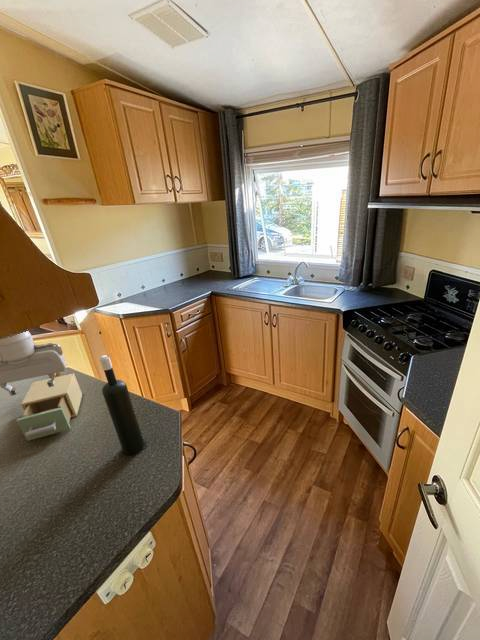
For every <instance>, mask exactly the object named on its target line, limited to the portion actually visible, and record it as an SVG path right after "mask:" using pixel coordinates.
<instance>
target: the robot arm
mask: <svg viewBox="0 0 480 640" xmlns="http://www.w3.org/2000/svg"><path fill="white" fill-rule="evenodd" d="M63 353H64V352H63V349H62V346H61V345H60V344H58V343H54V342H49V343H43V344H35V342H34V339H33V336H32V334H31V332H30V331H29V330H28V331H26V332H23V333H20V334H17V335H15V336H12V337H8V338H5V339H3V340H0V388H1V389H4V390H5V391H7V392H8V393H9V395H10V396H11V397H12V396H15V395H18V394H19V390H18V387H17V386H15V387H14V386H12V385H10V384H9V383H14V382H19V381H23V380H24V381H25V380H29V379H33V378H38V377H44V376H48V378H50V377H51V380H48V382H47V385H48V387H53V386H55V381H54V378H55V375H56V373H59V372H61V373H63V372H65V371H66V369H67V367H68V361H66V359H65V357H64V355H63Z"/></svg>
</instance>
